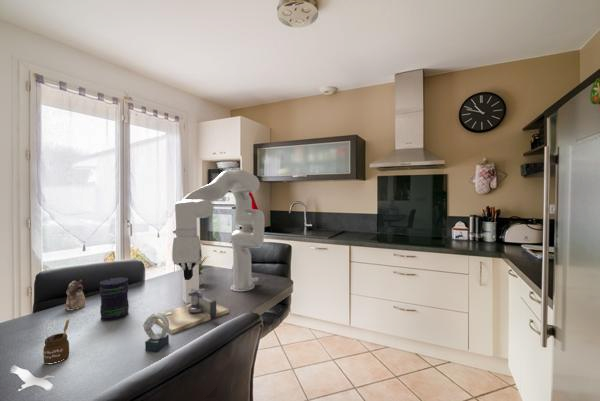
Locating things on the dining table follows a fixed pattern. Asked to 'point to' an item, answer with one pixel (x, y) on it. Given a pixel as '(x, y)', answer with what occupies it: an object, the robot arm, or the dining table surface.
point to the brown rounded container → (56, 346)
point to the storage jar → (114, 298)
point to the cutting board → (187, 317)
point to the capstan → (201, 303)
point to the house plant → (201, 272)
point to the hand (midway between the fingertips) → (188, 278)
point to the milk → (190, 284)
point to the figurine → (75, 296)
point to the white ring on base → (157, 339)
